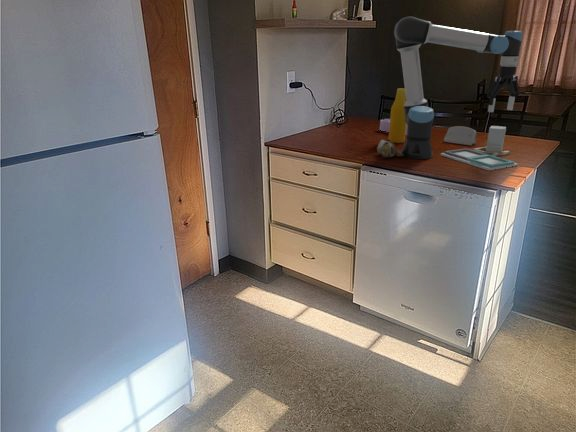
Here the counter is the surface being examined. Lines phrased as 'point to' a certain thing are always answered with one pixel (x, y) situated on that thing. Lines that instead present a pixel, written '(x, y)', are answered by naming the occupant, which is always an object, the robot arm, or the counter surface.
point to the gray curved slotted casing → (461, 135)
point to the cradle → (490, 153)
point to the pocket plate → (478, 159)
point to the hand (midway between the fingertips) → (500, 111)
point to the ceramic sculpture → (388, 149)
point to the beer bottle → (398, 118)
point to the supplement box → (495, 139)
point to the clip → (387, 125)
